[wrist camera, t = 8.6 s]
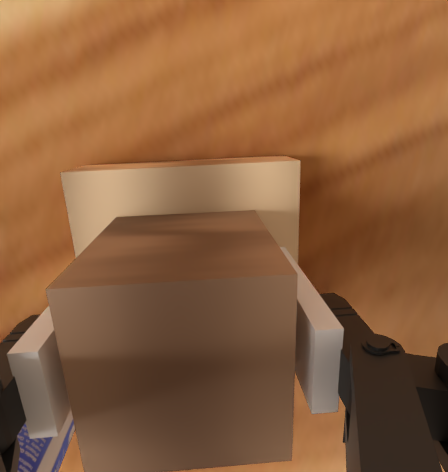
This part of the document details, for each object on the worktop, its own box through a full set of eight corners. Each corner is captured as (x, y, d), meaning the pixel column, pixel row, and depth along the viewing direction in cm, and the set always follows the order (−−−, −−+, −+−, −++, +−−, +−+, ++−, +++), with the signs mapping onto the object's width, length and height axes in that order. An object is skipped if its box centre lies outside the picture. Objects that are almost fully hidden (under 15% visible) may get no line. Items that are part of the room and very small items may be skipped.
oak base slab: (112, 340, 20) (97, 375, 17) (84, 165, 17) (60, 172, 14) (282, 327, 20) (295, 359, 17) (284, 155, 17) (300, 160, 14)
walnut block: (132, 337, 16) (85, 478, 10) (116, 216, 15) (45, 289, 8) (255, 329, 17) (291, 460, 10) (254, 210, 15) (297, 274, 8)
